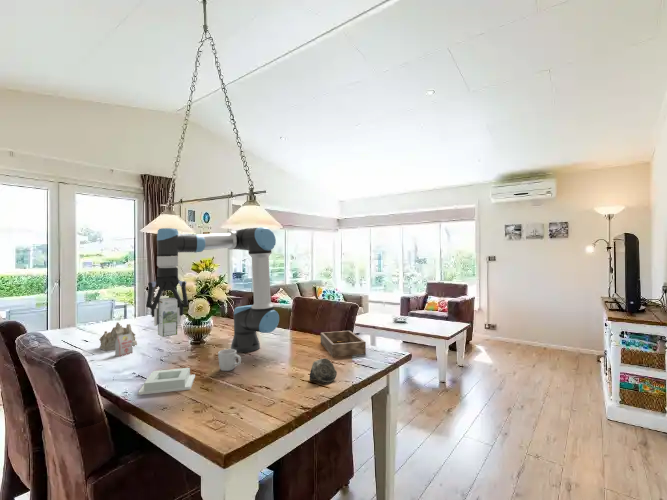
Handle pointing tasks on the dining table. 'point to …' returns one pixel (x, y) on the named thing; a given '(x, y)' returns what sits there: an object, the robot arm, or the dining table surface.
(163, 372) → the white tray
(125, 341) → the tea bag
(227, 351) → the cup
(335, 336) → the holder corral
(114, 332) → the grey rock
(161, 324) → the syrup box
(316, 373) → the fossil
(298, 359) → the dining table surface
